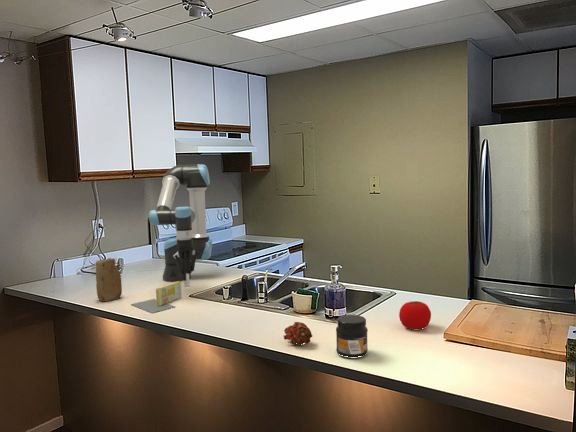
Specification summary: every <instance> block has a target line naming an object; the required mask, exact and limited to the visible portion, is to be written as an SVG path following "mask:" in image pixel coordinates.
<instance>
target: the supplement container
mask: <svg viewBox="0 0 576 432" xmlns="http://www.w3.org/2000/svg"><path fill="white" fill-rule="evenodd" d="M336 321H337V323H336V324H337V326H336V327H335V333H336V334H335V335H336V350H335V351H336V352H337V354H338V355H339V354H340V355H343V356H348V357H358V356H363V355H365V354H366V353H367V354H368V352H369V351H368V332H369V331H368V330H369V329H368V327H367V318H365V317H364V316H362V315H356V314H344V315H340V316H339V317H338V318H337V319H336ZM367 354H366V355H367ZM340 355H339V356H340ZM366 355H365V356H366ZM363 357H364V356H363Z"/></svg>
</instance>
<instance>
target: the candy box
mask: <svg viewBox="0 0 576 432" xmlns="http://www.w3.org/2000/svg"><path fill="white" fill-rule="evenodd" d="M181 282H182V281H173V282H171V283H168V284H165V285H163V286H159V287H156V288H155V296H156V298H155V299H156V300H157V306H161V305H163V304H166V303H167V304H169V303H171V302H173V301H176V300H179V299H182V297H183V296H182V283H181Z"/></svg>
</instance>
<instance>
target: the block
mask: <svg viewBox="0 0 576 432" xmlns="http://www.w3.org/2000/svg"><path fill="white" fill-rule="evenodd" d="M95 280H96V286H95V287H96V288H95V289H96V294H97V299H98V300H99V301H100V302H112V301H115V300H119V299H120V298H121V297H122V293H123V290H122V289H123V287H122V276H121V272H120V270H119V268H118V266H116V260H115V258H104V259H100V260H97V261H95Z"/></svg>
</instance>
